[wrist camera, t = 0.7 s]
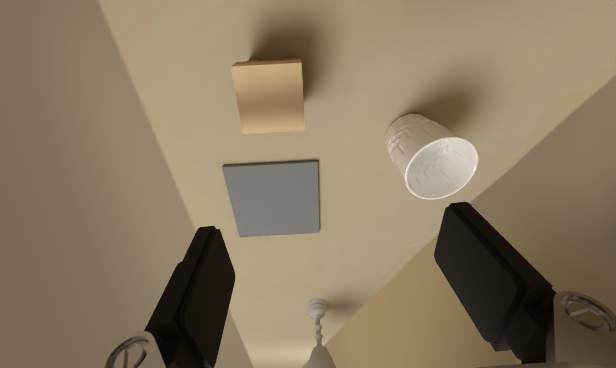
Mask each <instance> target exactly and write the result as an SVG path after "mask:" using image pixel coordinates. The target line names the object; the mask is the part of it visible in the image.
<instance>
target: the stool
mask: <svg viewBox="0 0 616 368" xmlns="http://www.w3.org/2000/svg"><path fill="white" fill-rule="evenodd" d="M231 70H232V76H233V81H234V86H235V92H236V97H237V102H238V108H239V113H240V118H241V124H242V129H243V134H247V133H266V132H284V131H303V130H305V121H304V101H303V81H302V62H301V59H298V57H291V58H286V59H285V60H269V61H261V59H251V60H248V61H246V62H237V63H235V64H234V65H232V66H231Z"/></svg>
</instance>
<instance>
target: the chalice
mask: <svg viewBox="0 0 616 368" xmlns="http://www.w3.org/2000/svg"><path fill="white" fill-rule="evenodd" d="M305 307H306V309H307V311H308V313H309V316H310V317H311V318H313V319H315V321H316V324H315V327H314V329H315V330H316V336H315V338H316V340H317V346H316V347H315V348H313V350H312V353H311V356H310V359H309V362H308V366H307V368H336V367H335V364H334V362H333V359H332V358H331V356H330V354H329V352H328V350H327V348H326V347H324V346H322V344H321V340H322V337H323V336H322V335H321V332H320V331H321V328H322V326H321V325H320V319H321V318H322V317H323V316H324V315H325V312H326V308H327V302H326V301H324V300H321V299H314V300H311V301H309V302H307V303H306V306H305Z"/></svg>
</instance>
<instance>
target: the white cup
mask: <svg viewBox="0 0 616 368" xmlns="http://www.w3.org/2000/svg"><path fill="white" fill-rule="evenodd" d="M385 146H386V148H387V150H388V152H389V154H390V157H391V159H392V161H393V163H394V165H395V167H396V169H397V171H398V172H399V174H400V175H401V177H402V179H403V181H404V182H405V184H406V186H407V188H408V189H409V191H410V192H411V193H412V194H414V195H415V196H417V197H419V198H422V199H429V200H433V199H440V198H444V197H447V196H450V195H452V194H454V193H455V192H457V191H459V190H460V189H461V188H463V187H464V186H465V185H466V184H467V183H468V182H469V181H470V179H471V178H472V177H473V175H474V173H475V171H476V169H477V165H478V153H477V150H476V148H475V147H474V145H473V144H472V143H471V142H469V141H468V140H466V139H464V138H463V137H461V136H459V135H458V134H456V133H454V132H453V131H451V130H449V129H448V128H446V127H444V126H442V125H440V124H438V123H437V122H435V121H432V120H429V119H427V118H426V117H424V116H423V115H421V114H408V115H405V116H402V117H399V118H398V119H397V120H396V121H395V122H393V123H392V124H391V125H390V127H389V129H388V131H387V132H386V134H385Z"/></svg>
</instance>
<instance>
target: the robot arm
mask: <svg viewBox="0 0 616 368" xmlns="http://www.w3.org/2000/svg"><path fill="white" fill-rule="evenodd" d="M434 257H435V260H436V262H437V264H438V266H439V267H440V269H441V270H442V272H443V274H444V276H445V277H446V278H447V280H448V282H449V284H450V285H451V287H452V288H453V290H454V291H455V293H456V295H457V296H458V298H459V300H460V302H461V303H462V305H463V306H464V308H465V310H466V311H467V313H468V314H469V316H470V317H471V319H472V321H473V323H474V324H475V326H476V327H477V329H478V331H479V332H480V334H481V336H482V337H483V338H484V340H485V341H487V342H490V344H491V345H492V347H493V348H494V350H495V351H507V350H512V352H513V353H514V355H515V356H516V357H517V359H516V365H503V366H490V367H479V368H616V315H615V313H614V312H613V311H612V310H610V309H609V308H608V307H607V306H605V305H604V304H603V303H601V302H599V301H597V300H596V299H594V298H592V297H590V296H587V295H585V294H582V293H578V292H575V291H561V292H558V293H556V292H555V291H554V290H553V289H552V285H551V284H550V283H549V282H548V281H547V280H546V279H545V278H544V277H543V276H542V275H541V274H540V273H539V272H538V271H537V270H536V269H535V268H534V267H533V266H532V265H531V264H530V263H529V262H528V261H527V260H526V259H525V258H524V257H523V256H522V255H521V254H520V253H519V252H518V251H517V250H516V249H515V248H514V247H513V246H512V245H511V244H509V242H508V241H506V240H505V239H504V237H502V236H501V235H500V234H499V233H498V232H497V231H496V230H495V229H494V228H493V227H492V226H491V225H490V224H489V223H488V222H487V221H486V220H485V219H484V218H483V217H482V216H481V215H480V214H479V213H478V212H477V211H476V210H475V209H474V208H473V207H472V206H471V205H470V204H469V203H468V202H458V203H451V204H450V205H449V207H446V209H445V212H444V216H443V220H442V224H441V228H440V232H439V236H438V240H437V244H436V248H435V253H434ZM234 283H235V272H234V269H233V266H232V263H231V260H230V257H229V254H228V251H227V248H226V246H225V243H224V240H223V237H222V234H221V231H220V230H219V229H216V228H215V227H214V226H208V227H200V228H198V230H197V232H196V234H195V236H194V238H193V240H192V242H191V244H190V246H189V248H188V250H187V253H186V255H185V257H184V259H183V261H182V262H180V263H179V264H178V265H177V267H176V268H175V270H174V272H173V274H172V276H171V279H170V280H169V282H168V284H167V286H166V288H165V290H164V292H163V294H162V296H161V298H160V300H159V302H158V305H157V306H156V308H155V310H154V312H153V315H152V316H151V318H150V320H149V323H148V325H147V326H146V328H145V330H144V331H138V332H134V333H131V334H129V335H127V336H125V337H124V338H122V339H121V340H119V341H118V342H117V343H116V344H114V345H113V347H112V348H111V349H110V350H109V351H108V352H107V353H106V355H105V356H104V358H103V360H102V362H101V364H100V367H99V368H213V367H214V366H215V363H216V359H217V355H218V351H219V347H220V342H221V338H222V334H223V329H224V325H225V321H226V317H227V313H228V308H229V304H230V300H231V295H232V291H233V287H234Z"/></svg>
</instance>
